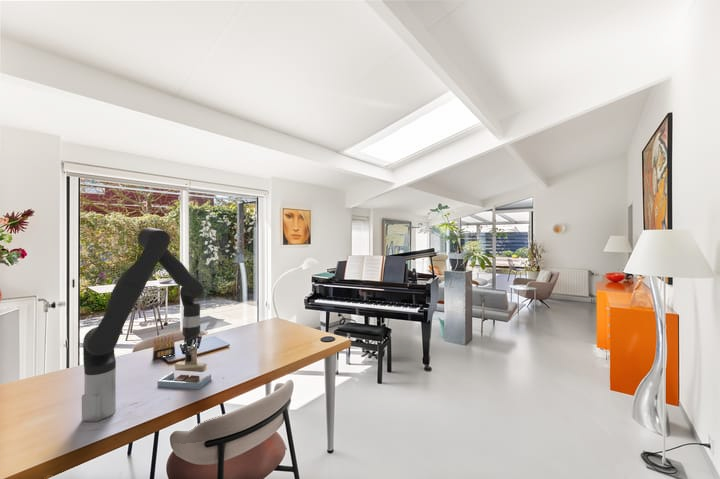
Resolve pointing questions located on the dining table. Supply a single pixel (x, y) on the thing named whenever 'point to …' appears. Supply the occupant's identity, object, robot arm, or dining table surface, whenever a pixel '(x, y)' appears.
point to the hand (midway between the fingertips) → (190, 360)
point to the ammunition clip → (163, 348)
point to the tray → (179, 384)
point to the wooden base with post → (191, 363)
